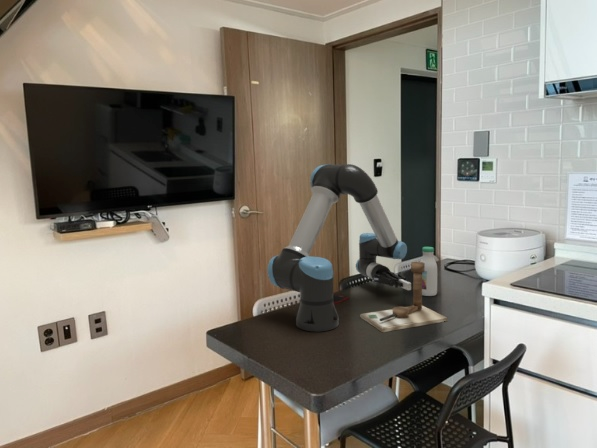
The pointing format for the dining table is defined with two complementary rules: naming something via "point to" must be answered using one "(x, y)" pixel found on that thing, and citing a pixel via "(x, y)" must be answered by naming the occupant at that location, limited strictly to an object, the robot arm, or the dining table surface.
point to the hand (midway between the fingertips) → (409, 286)
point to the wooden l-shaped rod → (417, 292)
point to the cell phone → (339, 298)
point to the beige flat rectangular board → (402, 319)
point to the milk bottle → (429, 272)
